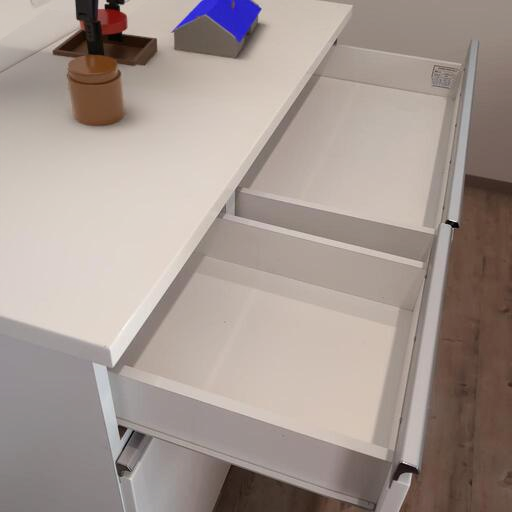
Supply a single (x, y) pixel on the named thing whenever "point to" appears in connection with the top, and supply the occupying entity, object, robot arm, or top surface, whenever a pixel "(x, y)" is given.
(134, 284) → the top surface
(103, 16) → the cap
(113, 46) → the tray
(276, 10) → the top surface
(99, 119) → the jar
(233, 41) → the toy house
